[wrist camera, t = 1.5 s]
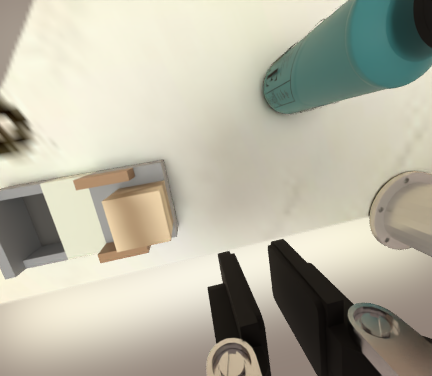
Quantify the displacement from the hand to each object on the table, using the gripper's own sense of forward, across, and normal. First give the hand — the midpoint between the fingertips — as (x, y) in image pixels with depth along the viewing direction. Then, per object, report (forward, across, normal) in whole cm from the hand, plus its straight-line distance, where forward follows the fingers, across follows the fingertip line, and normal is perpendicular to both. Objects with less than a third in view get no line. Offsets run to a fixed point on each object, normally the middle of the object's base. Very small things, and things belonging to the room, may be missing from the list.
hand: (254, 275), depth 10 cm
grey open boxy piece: (+19, +14, 0) cm, 24 cm away
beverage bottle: (+19, -11, -11) cm, 25 cm away
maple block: (+16, +8, 0) cm, 17 cm away
